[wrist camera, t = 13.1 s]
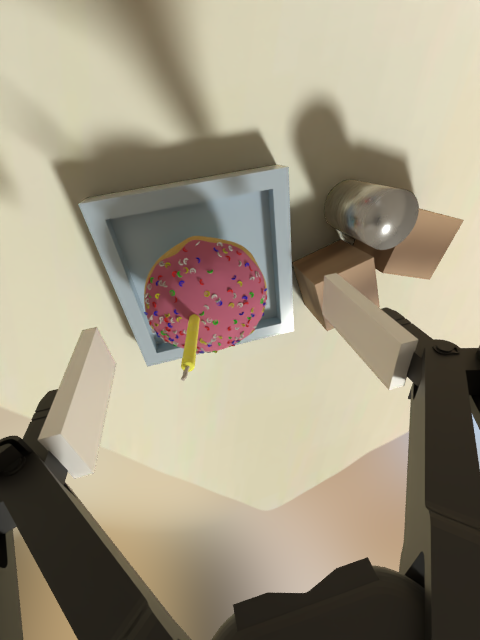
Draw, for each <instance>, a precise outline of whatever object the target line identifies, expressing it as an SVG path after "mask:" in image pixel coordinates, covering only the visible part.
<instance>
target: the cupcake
mask: <svg viewBox="0 0 480 640" xmlns="http://www.w3.org/2000/svg"><path fill="white" fill-rule="evenodd" d="M266 300H267V285H266V281H265V278H264V276H263V274H262V272H261V270H260V268H259V266H258V264H257V262H256V261H255V259H254V257H253V255H252V254H251V253H250V252H249V251H248V250H247V249H246V248H245V247H243V246H242V245H240V244H238V243H235V242H232V241H228V240H223V239H218V238H212V237H204V236H192V237H189V238H187V239H186V240H184V241H182V242H181V243H179V244H177V245H176V246H174V247H173V248H171V249H170V250H169V251H167V252H166V253H165V254H164V255H162V256H161V257H160V258H159V259H158V260H157V261H156V263H155V264H154V265H153V267H152V268H151V270H150V272H149V274H148V276H147V279H146V283H145V288H144V304H145V312H144V314H145V315H147V319H148V322H149V325H150V326H151V328H152V330H151V331H152V333H155V332H156V334H157V336H158V335H159V336H158V337H161V338H162V339H163V340H164V342H165V343H167V342H169V343H171V344H173V345H174V346H177V347H180V348H184V352H183V358H182V364H181V368H182V369H183V370H184V372H183V376H182V378H181V380H183V381H184V380H185V379H186V377H187V373H188V372H189V371H192V370H193V369H194V367H195V358H196V353H197V354H198V353H201V352H202V353H204V352H207V353H210V352H215V351H216V352H215V353H217V350H221V349H224V348H227V347H230V346H235V344H236V343H239V342H240V341H241V340H242V339H244V338H246V337H247V336H248V335H250V334H251V333H253V331H254V330H255V328H256V327H257V324H258V322H259V321H260V319H261V317H262V316H264V310H265V306H266V305H267V303H266Z"/></svg>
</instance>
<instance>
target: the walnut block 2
mask: <svg viewBox="0 0 480 640" xmlns="http://www.w3.org/2000/svg"><path fill="white" fill-rule="evenodd" d="M463 221H464V220H462V219H458V218H454V217H450V216H446V215H442V214H438V213H434V212H431V211H427V210H423V209H419V213H418V218H417V221H416V224H415V226H414V228H413V229H412V231H411V232H410V234H409V235H408V236H407V237H406V238H405V239H404V240H403V241H402V242H401V243H400V244H398V245H397V246H395V247H393V248H390V249H386V250H378V249H375V248H373V247H371V246H369V245H367V244H365V243H363V242H361V241H359V240H357V239H355V242H354V244H353V246H354V247H356V248H358V249H360V250H361V251H363V252H365V253H367V254H369V255H370V256H372V257H374V264H375V269H377V270H379V271H380V272H382V273H387V274H394V275H401V276H408V277H415V278H422V279H429V280H430V278H431V276H432V275H433V273H434V271H435V269H436V268H437V266H438V264H439V262H440V261H441V259H442V257H443V255H444V254H445V252H446V250H447V248H448V247H449V245H450V243H451V241H452V240H453V238H454V236H455V234H456V233H457V231H458V229H459V228H460V226H461V224H462V222H463Z"/></svg>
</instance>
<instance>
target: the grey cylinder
mask: <svg viewBox="0 0 480 640" xmlns="http://www.w3.org/2000/svg"><path fill="white" fill-rule="evenodd" d="M418 213H419V205H418V201H417V199H416V197H415V195H414V194H413V193H411V192H410V191H408V190H404V189H399V188H394V187H389V186H383V185H378V184H373V183H368V182H363V181H358V180H352V179H350V180H345V181H342V182H340V183H339V184H337V185H336V186H335V187H334V188H333V189H332V190H331V192H330V193H329V195H328V196H327V199H326V202H325V206H324V215H325V219H326V221H327V222H328V224H329V225H330V226H332V227H334V228H336V229H338V230H340V231H341V232H343V233H345V234H347V235H349V236H351V237H353V238H355V239H357V240H359V241H361V242H363V243H365V244H367V245H369V246H371V247H373V248H375V249H378V250H386V249H390V248H393V247H395V246H397V245H398V244H400V243H401V242H402V241H403V240H404V239H405V238H406V237H407V236H408V235H409V234H410V232H411V231H412V229H413V228H414V226H415V224H416V221H417V218H418Z"/></svg>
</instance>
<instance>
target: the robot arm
mask: <svg viewBox="0 0 480 640" xmlns="http://www.w3.org/2000/svg"><path fill="white" fill-rule="evenodd" d="M322 314H323V315H324V317H325V318H326V319H327V320H328V321H329V322H330V323H331V325H332V326H333V327H334V328H335V329H336V330H337V331H338V333H339V334H340V335H341V336H342V337H343V338H344V339H345V340H346V342H347V343H348V344H349V345H350V346H351V347H352V348H353V350H354V351H355V352H356V353H357V354H358V355H359V356H360V358H361V359H362V360H363V361H364V362H365V363H366V364H367V366H368V367H369V368H370V369H371V370H372V371H373V372H374V374H375V375H376V376H377V377H378V378H379V379H380V380H381V382H382V383H383V384H384V385H385V386H386V387H387V388H388V390H391V389H395V388H398V387H402V386H404V385H405V381H406V378H407V377H408V378H409V379H410V380H411V381H412V382H413V384H412V387H411V390H410V393H409V396H408V399H411V407H410V427H409V449H408V469H407V491H406V511H405V532H404V544H403V549H402V553H401V559H400V567H399V572H396V571H394V570H391V569H388V568H385V567H380V566H372V565H371V563H370V561H369V559H368V558H365V559H362V560H359V561H356V562H353V563H350V564H348V565H345V566H342V567H339V568H336V569H335V570H334V571H333V572H331V573H330V574H329V575H328V576H327V577H326V578H324V579H323V580H322V581H321V582H320V583H318V584H317V585H316V586H315V587H313V588H312V589H311V590H310V591H309V592H307V593H265V594H262V595H260V596H257V597H254V598H251V599H248V600H245V601H243V602H240V603H237V604H234V605H233V607H234V614H233V615H232V616H231V617H230V618H228V619H227V620H226V622H225V623H224V624H223V625H222V626H221V627H220V628H219V630H218V631H217V632H216V634H215V635H214V637H213V639H212V640H480V469H479V462H478V455H477V448H476V442H475V434H474V427H473V420H472V414H473V417H474V419H475V421H476V423H477V425H478V427H479V429H480V346H479V348H459V347H458V346H457V345H455V344H453V343H451V342H449V341H445V340H433V339H432V338H431V337H429V336H428V335H427V334H425V333H424V332H423V331H421V330H420V329H419V328H418V327H416V326H415V325H414V324H411V322H410V321H408V320H407V319H405V318H404V317H403V316H402V315H401V314H399V313H398V312H396V311H394V310H391V309H389V308H383V309H380V308H379V307H378V306H376V305H375V304H374V303H373V302H371V301H370V300H369V299H368V298H367V297H365V296H364V295H363V294H362V293H360V292H359V291H358V290H357V289H355V288H354V287H353V286H352V285H351V284H349V283H348V282H347V281H346V280H344V279H343V278H342V277H341V276H339V275H338V274H337V273H334V274H329V275H325V276H324V290H323V309H322ZM115 367H116V362H115V361H114V359H113V357H112V355H111V353H110V351H109V349H108V347H107V345H106V343H105V341H104V340H103V338H102V336H101V334H100V332H99V330H98V328H97V327H95V328H90V329H86V330H82V332H81V335H80V337H79V340H78V342H77V345H76V347H75V349H74V352H73V354H72V357H71V359H70V362H69V364H68V367H67V369H66V372H65V374H64V376H63V379H62V381H61V384H60V386H59V389H56V390H52V391H49V392H48V393H47V394H46V395H45V396H44V397H43V398H42V400H41V401H40V402H39V404H38V407H37V409H36V411H35V412H36V413H34V415H33V418H32V422H30V424H29V426H28V429H27V431H26V433H25V435H24V437H23V439H21V438H20V437H18V436H9V437H6V438H3V439H1V440H0V640H23V632H22V621H21V611H20V600H19V590H18V579H17V569H16V558H15V548H14V538H13V528H15V527H17V528H18V530H19V531H20V533H21V535H22V537H23V539H24V541H25V543H26V544H27V546H28V548H29V550H30V552H31V554H32V555H33V557H34V559H35V561H36V563H37V565H38V567H39V568H40V570H41V572H42V574H43V576H44V578H45V579H46V581H47V583H48V585H49V587H50V589H51V591H52V592H53V594H54V596H55V598H56V600H57V601H58V603H59V605H60V607H61V609H62V611H63V613H64V614H65V616H66V618H67V620H68V622H69V624H70V625H71V627H72V629H73V631H74V633H75V635H76V636H77V638H78V640H191V639H190V638H189V636H188V635H187V634H186V633H185V632H184V631H183V630H182V629H181V627H180V626H179V625H178V624H177V623H176V622H175V621H174V619H173V618H172V617H171V616H170V614H169V613H168V612H167V611H166V609H165V608H164V607H163V605H162V604H161V603H160V602H159V600H158V599H157V598H156V597H155V595H154V594H153V593H152V591H151V590H150V589H149V588H148V586H147V585H146V584H145V583H144V581H143V580H142V579H141V577H140V576H139V575H138V574H137V572H136V571H135V570H134V568H133V567H132V566H131V565H130V563H129V562H128V561H127V560H126V558H125V557H124V556H123V554H122V553H121V552H120V551H119V549H118V548H117V547H116V546H115V544H114V543H113V542H112V540H111V539H110V538H109V537H108V535H107V534H106V533H105V532H104V531H103V529H102V528H101V526H100V525H99V524H98V523H97V521H96V520H95V519H94V518H93V516H92V515H91V514H90V512H89V511H88V510H87V509H86V508H85V506H84V505H83V504H82V502H81V501H80V500H79V499H78V497H77V496H76V495H75V493H74V492H73V491H72V490H71V488H70V487H69V486H68V485H67V484H66V483H65V479H66V476H67V472H68V473H69V474H70V475H71V476H72V477H73V478H74V479H76V478H79V477H83V476H86V475H90V474H93V473H94V471H95V466H96V461H97V456H98V451H99V446H100V441H101V437H102V432H103V427H104V422H105V417H106V412H107V407H108V402H109V397H110V392H111V387H112V382H113V377H114V372H115ZM471 412H472V413H471Z"/></svg>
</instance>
